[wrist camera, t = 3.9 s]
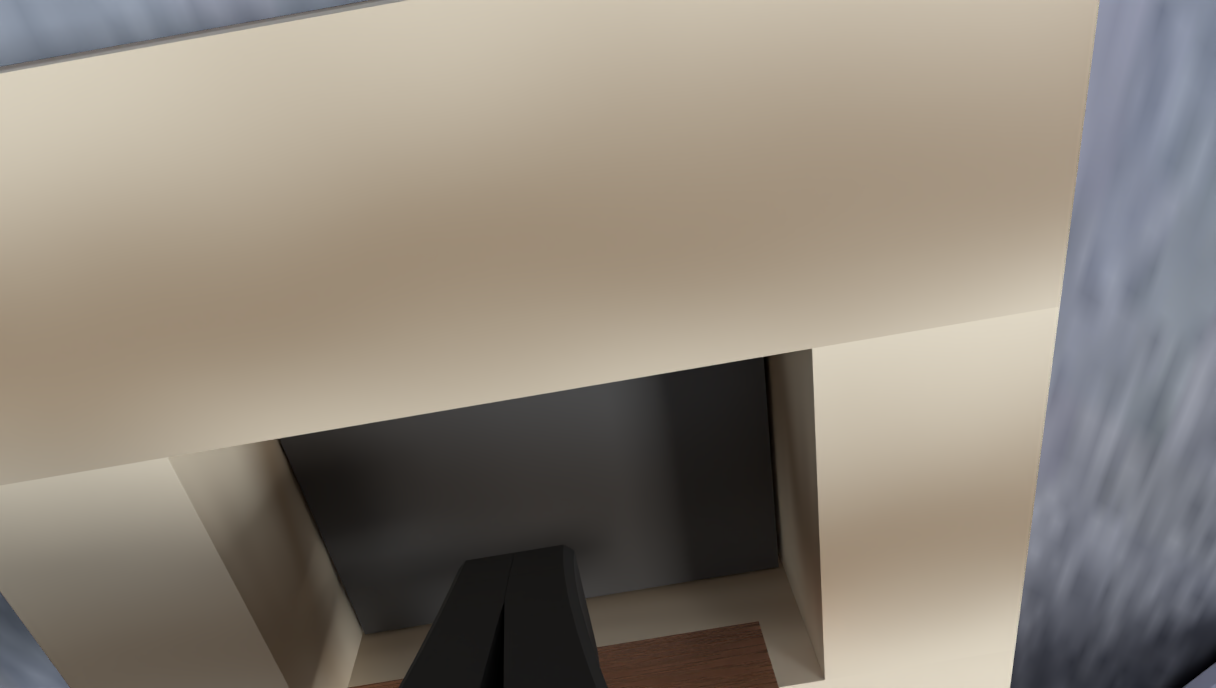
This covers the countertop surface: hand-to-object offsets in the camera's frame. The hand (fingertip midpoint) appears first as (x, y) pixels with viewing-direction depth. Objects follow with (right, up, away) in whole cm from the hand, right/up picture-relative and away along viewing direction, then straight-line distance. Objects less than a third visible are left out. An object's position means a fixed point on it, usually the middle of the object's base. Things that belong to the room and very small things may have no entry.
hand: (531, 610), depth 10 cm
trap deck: (+1, -5, +7) cm, 8 cm away
